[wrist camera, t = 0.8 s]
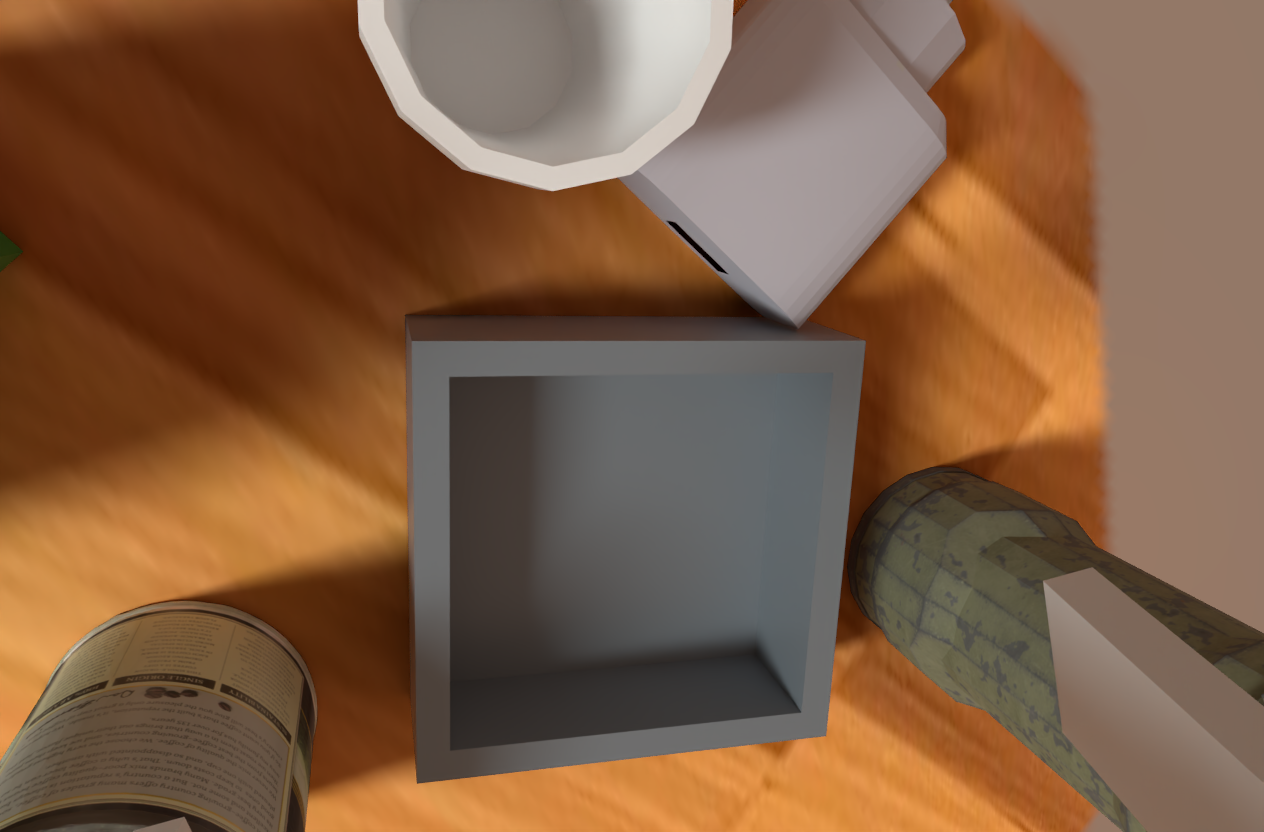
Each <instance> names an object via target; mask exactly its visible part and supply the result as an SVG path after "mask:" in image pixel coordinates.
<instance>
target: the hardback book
mask: <svg viewBox="0 0 1264 832" xmlns="http://www.w3.org/2000/svg"><path fill="white" fill-rule="evenodd" d="M22 252H23V251H22V250H21V249H20V248H19V247H18V246H16V245H15V244H14V243H13V242H12V241H11V240H10V239H9V238H7V237H6V236H5V235H4V234H3V233H2V232H1V231H0V272H1V271H2V270H3V269H4V268H5V267H6V266H8V265H9V264H10V263H11V262H12V261H13V260H14V259H15V258H17V257H18V256H19V255H20V254H21V253H22Z"/></svg>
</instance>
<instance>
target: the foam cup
mask: <svg viewBox="0 0 1264 832" xmlns="http://www.w3.org/2000/svg"><path fill="white" fill-rule="evenodd" d="M733 1H734V0H358V24H359V37H360V39H361V41H362V43H363V45H364V47H365V49H366V51H367V53H368V55H369V58H370V60H371V62H372V64H373V66H374V68H375V70H376V72H377V74H378V76H379V78H380V80H381V82H382V84H383V86H384V88H385V90H386V92H387V94H388V96H389V98H390V100H391V102H392V104H393V106H394V108H395V110H396V112H397V114H398V116H399V117H400V118H401V119H402V120H404V121H405V122H406V123H407V124H408V125H410V126H411V127H412V128H413V129H414V130H416V131H417V132H418V133H419V134H420V135H422V136H423V137H424V138H425V139H426V140H428V141H429V142H430V143H431V144H432V145H434V146H435V147H436V148H437V149H438V150H440V151H441V152H442V153H443V154H444V155H446V156H447V157H448V158H449V159H450V160H452V161H453V162H454V163H455V164H456V165H458V166H459V167H460V168H461V169H462V170H466V171H470V172H474V173H478V174H481V175H485V176H489V177H493V178H497V179H500V180H504V181H508V182H512V183H516V184H520V185H523V186H527V187H531V188H535V189H540V190H547V191H556V190H561V189H565V188H570V187H575V186H579V185H584V184H589V183H594V182H598V181H603V180H608V179H613V178H617V177H622V176H627V175H631V174H633V173H634V172H635V171H636V170H638V169H639V168H640V167H641V166H643V165H644V164H645V163H646V162H648V161H649V160H650V159H651V158H653V157H654V156H655V155H656V154H658V153H659V152H660V151H661V150H663V149H664V148H665V147H666V146H668V145H669V144H670V143H671V142H673V141H674V140H675V139H676V138H678V137H679V136H680V135H681V134H683V133H684V132H685V131H686V130H688V129H689V128H690V127H691V126H692V125H694V123H695V121H696V119H697V117H698V115H699V113H700V111H701V109H702V107H703V105H704V103H705V101H706V99H707V97H708V95H709V93H710V91H711V89H712V87H713V85H714V83H715V81H716V79H717V76H718V74H719V72H720V70H721V68H722V66H723V64H724V62H725V60H726V58H727V56H728V54H729V52H730V50H731V41H732V21H733Z"/></svg>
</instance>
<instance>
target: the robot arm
mask: <svg viewBox="0 0 1264 832" xmlns="http://www.w3.org/2000/svg"><path fill="white" fill-rule="evenodd" d="M1043 585H1044V593H1045V600H1046V608H1047V616H1048V624H1049V631H1050V639H1051V647H1052V655H1053V662H1054V670H1055V678H1056V685H1057V693H1058V701H1059V709H1060V716H1061V724H1062V732H1063V734H1064V735H1065V736H1066V737H1067V738H1068V739H1069V741H1070V742H1071V743H1072V744H1073V745H1074V746H1075V748H1076V749H1077V750H1078V751H1079V752H1080V753H1081V755H1082V756H1083V757H1084V758H1085V759H1086V761H1087V762H1088V763H1089V764H1090V765H1091V766H1092V768H1093V769H1094V770H1095V771H1096V772H1097V773H1098V775H1099V776H1100V777H1101V778H1102V779H1103V780H1104V782H1105V783H1106V784H1107V785H1108V786H1109V787H1110V789H1111V790H1112V791H1113V792H1114V793H1115V794H1116V796H1117V797H1118V798H1119V799H1120V800H1121V802H1122V803H1123V804H1124V805H1125V806H1126V807H1127V809H1128V810H1129V811H1130V812H1131V813H1132V814H1133V816H1134V817H1135V818H1136V819H1137V820H1138V821H1139V823H1140V824H1141V825H1142V826H1143V827H1144V828H1145V830H1146V831H1147V832H1264V706H1263V705H1261V704H1260V703H1259V702H1258V701H1257V700H1255V699H1254V698H1253V697H1252V696H1250V695H1249V694H1248V693H1247V692H1245V691H1244V690H1243V689H1242V688H1241V687H1239V686H1238V685H1237V684H1236V683H1234V682H1233V681H1232V680H1231V679H1229V678H1228V677H1227V676H1226V675H1224V674H1223V673H1222V672H1221V671H1220V670H1218V669H1217V668H1216V667H1215V666H1213V665H1212V664H1211V663H1210V662H1208V661H1207V660H1206V659H1205V658H1204V657H1202V656H1201V655H1200V654H1199V653H1197V652H1196V651H1195V650H1194V649H1192V648H1191V647H1190V646H1189V645H1188V644H1186V643H1185V642H1184V641H1183V640H1181V639H1180V638H1179V637H1178V636H1176V635H1175V634H1174V633H1173V632H1171V631H1170V630H1169V629H1168V628H1167V627H1165V626H1164V625H1163V624H1162V623H1160V622H1159V621H1158V620H1157V619H1155V618H1154V617H1153V616H1152V615H1151V614H1149V613H1148V612H1147V611H1146V610H1144V609H1143V608H1142V607H1141V606H1139V605H1138V604H1137V603H1136V602H1135V601H1133V600H1132V599H1131V598H1130V597H1128V596H1127V595H1126V594H1125V593H1123V592H1122V591H1121V590H1120V589H1119V588H1117V587H1116V586H1115V585H1114V584H1112V583H1111V582H1110V581H1109V580H1107V579H1106V578H1105V577H1104V576H1102V575H1101V574H1100V573H1099V572H1098V571H1096V570H1095V569H1094V568H1093V567H1091V568H1088V569H1084V570H1081V571H1077V572H1073V573H1070V574H1066V575H1062V576H1059V577H1055V578H1051V579H1048V580H1044V581H1043ZM133 832H192V831H191V829H190V827H189V825H188V823H187V821H186V819H185V817H182V818H178V819H174V820H171V821H167V822H163V823H160V824H156V825H152V826H149V827H145V828H142V829H138V830H134V831H133Z"/></svg>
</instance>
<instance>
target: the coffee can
mask: <svg viewBox="0 0 1264 832" xmlns="http://www.w3.org/2000/svg"><path fill="white" fill-rule="evenodd" d="M316 724H317V698H316V692H315V688H314V684H313V681H312V678H311V675H310V673H309V670H308V668H307V665H306V664H305V662H304V660H303V659H302V657H301V655H300V654H299V653H298V652H297V650H296V649H295V648H294V647H293V646H292V645H291V643H290V642H289V641H288V640H287V639H286V638H285V637H284V636H283V635H281V634H280V633H279V632H278V631H277V630H275V629H274V628H273V627H271V626H270V625H268V624H267V623H265V622H264V621H262V620H260V619H258V618H256V617H254V616H252V615H250V614H248V613H246V612H243V611H241V610H238V609H235V608H233V607H230V606H226V605H221V604H214V603H205V602H199V601H171V602H164V603H158V604H152V605H148V606H144V607H140V608H137V609H134V610H132V611H129V612H126V613H123V614H120V615H117V616H115V617H113V618H111V619H110V620H108V621H107V622H105V623H103V624H102V625H100V626H98V627H96V628H94V629H93V630H92V631H90V632H89V633H88V634H86V635H85V636H84V637H83V638H81V639H80V640H79V641H78V642H77V643H76V644H75V645H74V646H73V647H72V648H71V649H70V650H69V651H68V652H67V653H66V655H65V656H64V657H63V658H62V660H61V661H60V663H59V664H58V665H57V667H56V668H55V670H54V672H53V673H52V675H51V677H50V679H49V682H48V684H47V686H46V689H45V690H44V692H43V694H42V695H41V697H40V699H39V700H38V702H37V704H36V705H35V707H34V708H33V710H32V711H31V713H30V715H29V716H28V718H27V720H26V721H25V723H24V725H23V726H22V728H21V729H20V731H19V732H18V734H17V736H16V737H15V739H14V740H13V742H12V743H11V745H10V746H9V748H8V750H7V751H6V753H5V755H4V756H3V758H2V759H1V761H0V832H133V831H134V830H138V829H142V828H145V827H149V826H152V825H156V824H160V823H163V822H167V821H171V820H174V819H178V818H182V817H185V819H186V821H187V823H188V825H189V827H190V829H191V831H192V832H305V825H306V814H307V804H308V793H309V783H310V772H311V761H312V751H313V738H314V734H315V730H316Z"/></svg>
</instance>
